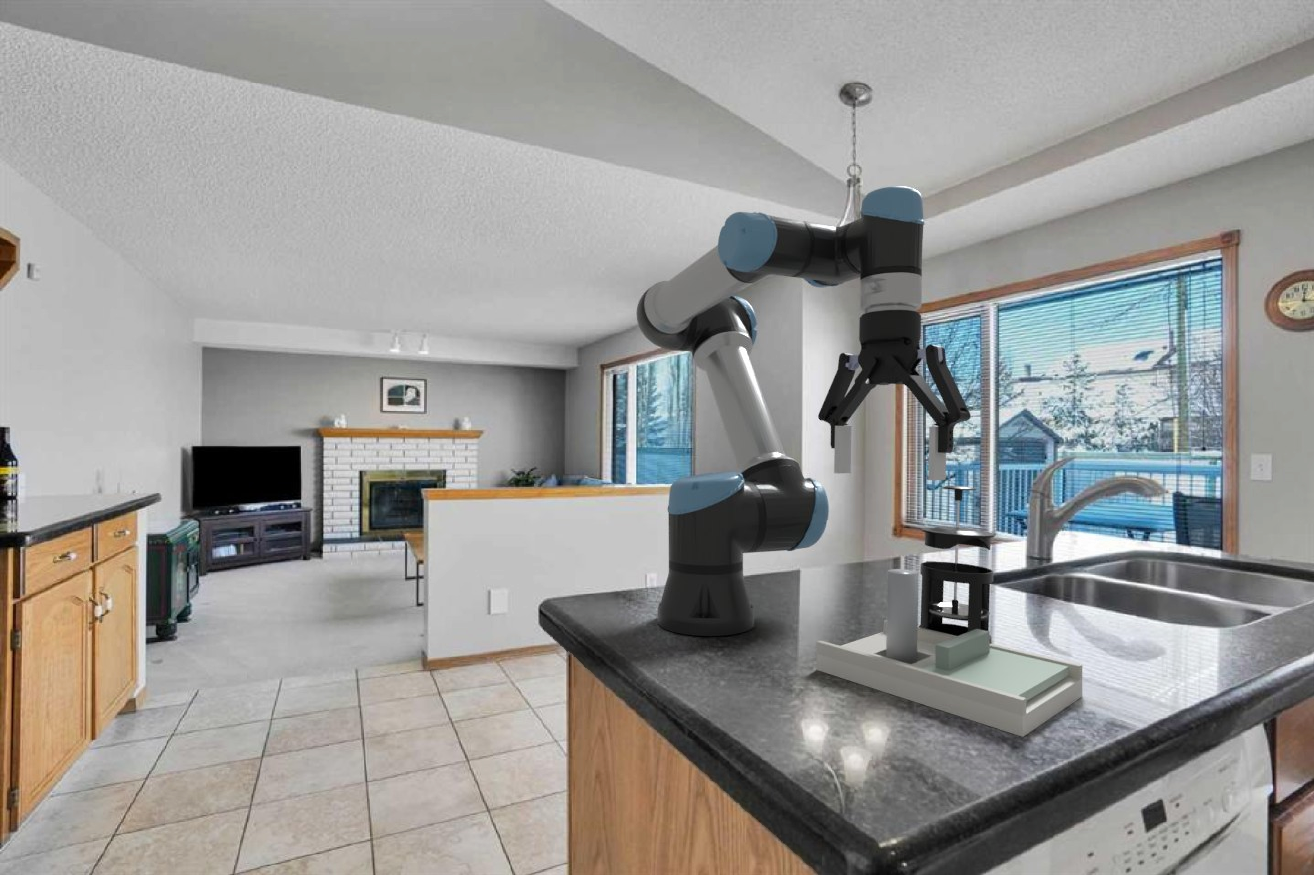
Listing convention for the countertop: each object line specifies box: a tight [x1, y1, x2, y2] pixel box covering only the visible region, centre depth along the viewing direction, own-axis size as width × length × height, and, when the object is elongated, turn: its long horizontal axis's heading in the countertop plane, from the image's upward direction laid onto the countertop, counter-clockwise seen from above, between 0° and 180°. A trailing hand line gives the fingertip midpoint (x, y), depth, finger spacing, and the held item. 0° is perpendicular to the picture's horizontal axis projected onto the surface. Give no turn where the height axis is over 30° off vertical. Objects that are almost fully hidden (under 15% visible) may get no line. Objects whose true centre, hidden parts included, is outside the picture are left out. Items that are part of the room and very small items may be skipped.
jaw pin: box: [886, 568, 919, 664], centre depth 81 cm, size 4×4×12 cm
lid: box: [922, 629, 1069, 701], centre depth 72 cm, size 10×14×4 cm
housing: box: [815, 619, 1083, 738], centre depth 77 cm, size 24×16×4 cm, turn 40°
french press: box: [918, 485, 996, 644], centre depth 89 cm, size 12×9×23 cm
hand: (886, 476), depth 85 cm, fingers open, 13 cm apart
